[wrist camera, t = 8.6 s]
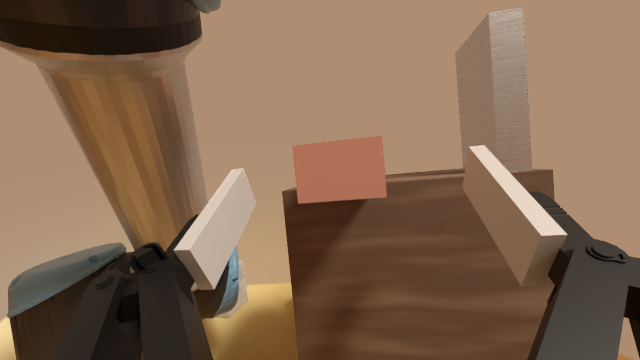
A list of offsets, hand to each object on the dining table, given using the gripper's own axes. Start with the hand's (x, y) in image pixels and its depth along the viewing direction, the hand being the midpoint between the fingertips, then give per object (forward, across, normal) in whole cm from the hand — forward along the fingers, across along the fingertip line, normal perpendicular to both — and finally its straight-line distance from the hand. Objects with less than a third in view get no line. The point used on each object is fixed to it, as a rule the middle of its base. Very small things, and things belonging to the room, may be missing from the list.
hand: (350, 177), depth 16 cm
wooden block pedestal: (-4, +4, -34) cm, 34 cm away
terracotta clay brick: (+7, 0, -5) cm, 8 cm away
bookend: (+10, +13, -7) cm, 18 cm away
